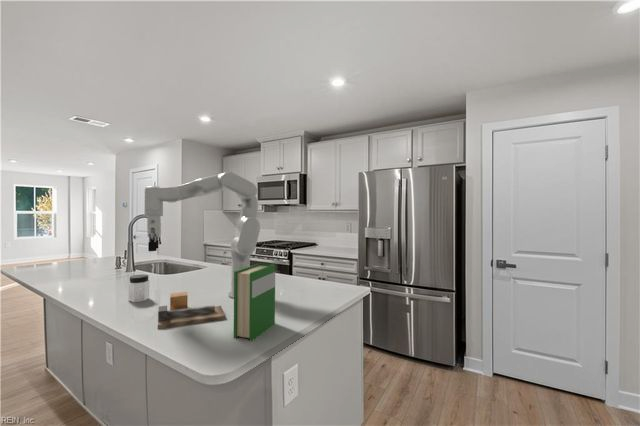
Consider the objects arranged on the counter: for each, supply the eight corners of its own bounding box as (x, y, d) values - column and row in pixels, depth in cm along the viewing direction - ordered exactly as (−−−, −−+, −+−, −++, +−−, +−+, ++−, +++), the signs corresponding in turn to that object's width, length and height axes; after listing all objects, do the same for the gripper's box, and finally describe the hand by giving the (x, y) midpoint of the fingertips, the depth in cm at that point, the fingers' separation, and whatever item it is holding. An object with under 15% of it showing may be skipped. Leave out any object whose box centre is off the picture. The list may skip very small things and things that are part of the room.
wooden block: (187, 306, 142) (187, 291, 142) (187, 310, 136) (187, 295, 136) (170, 308, 139) (170, 293, 139) (170, 312, 133) (170, 297, 133)
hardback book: (251, 341, 105) (252, 273, 105) (233, 338, 108) (234, 271, 107) (274, 323, 122) (275, 264, 122) (258, 321, 124) (259, 263, 124)
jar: (128, 303, 145) (128, 278, 145) (128, 299, 152) (128, 275, 152) (149, 300, 150) (150, 276, 150) (148, 296, 157) (148, 273, 157)
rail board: (220, 309, 139) (220, 297, 139) (225, 319, 126) (225, 306, 126) (159, 316, 128) (159, 303, 128) (157, 328, 115) (157, 314, 115)
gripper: (161, 213, 134) (161, 251, 134) (164, 212, 149) (163, 247, 149) (142, 213, 130) (141, 252, 131) (146, 212, 146) (146, 247, 146)
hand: (153, 249), depth 140 cm, fingers open, 9 cm apart
